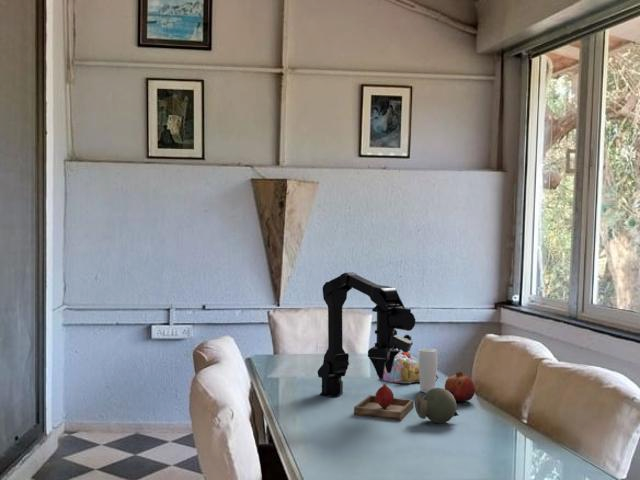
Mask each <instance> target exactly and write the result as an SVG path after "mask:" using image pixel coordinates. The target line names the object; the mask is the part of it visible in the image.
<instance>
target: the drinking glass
mask: <svg viewBox="0 0 640 480" xmlns="http://www.w3.org/2000/svg"><path fill="white" fill-rule="evenodd" d="M417 357H418V361H417V363H419V377H420V382H419V390H420V392H422V393H425V394H426V393H427V392H428V391H429V390H431V389H434V388H436V375H437V370H438V349H436V348H427V347H426V348H424V347H423V348H419V349H418V356H417Z"/></svg>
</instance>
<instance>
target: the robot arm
mask: <svg viewBox="0 0 640 480" xmlns="http://www.w3.org/2000/svg"><path fill="white" fill-rule="evenodd" d="M352 289H354V290H356V291H358V292H360V293H362V294H364V295H366V296H368V297H369V298H370V301H371V302H372V303H374V304H375V306H374V307H373V308H372V309H371V310H372V312H373V313H376V329H375V330H374V334H376V342H375V343H374V346H372V347H371V348H369V349H368V350H367V357H368V359H369V360H370V361H371V363H372V366H373V368H374V370H375V372H376V374H377V377H378V379H379V380H382V379H383V375H384V369H385V367H386V370H387V373H391V370H392V366H393V362H394V359H395V356H397V355H399V354H400V353H401V351H402V352H406V353H407V352H410V351H411V347H412V345H413V342H414V341H413V340H412V335H410V334H408V333H406V334H405V335H404V336H403V335H399V334H398V330H402V331H406V332H409V331H412V330H413V329H414V327H415V325H416V318H415V317H416V316H414V314H413V312H411V308H409V307H408V308H407V307H405V305H404V303H403V301H402V299H401V298H400V295H399V293H398V290H397V289H396V288H395V287H393V286H388V285H381V284H377V283H375V282H372V281H371V280H368V279H366V278H364V277H362V276H360V275H358V274H357V273H356V272H343V273H342V274H340V275H339V276H337V277H335V278H333V279H331V280H329V281H326V282H325V283H324V284H323V285H322V297H323V301H324V302H325V304H326V305H327V331H328V332H327V333H328V334H327V337H328V338H327V339H328V340H327V344H328V345H327V346H328V347H327V349H326V351H325V353H324V356H323V363H322V365H321V366H320V367H319V369H318V370H317V372H316V373H317V375H318V378H321V392H320V393H319V395H320V396H327V397H334V398H335V397H336V398H337V397H339V396H341V395H343V394H344V391H343V390H344V388H343V385H344V381H343V380H342V377H345V376H346V373H347V370H348V368H349V366H350V362H349V356H350V355H349V353H346V351H345V350H344V348H343V345H344V344H343V343H344V342H343V306H344V304H345V302H346V301H347V299H348V298H347V296H348V293H349V292H350V291H351V290H352Z"/></svg>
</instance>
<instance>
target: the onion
mask: <svg viewBox="0 0 640 480" xmlns="http://www.w3.org/2000/svg"><path fill="white" fill-rule="evenodd" d="M374 396H375V398H376V401H377V403H378V404H379V405H380V406H381V407H382V408H383V409H386V408H387V407H388V406H390V405H391V404H392V402H393V399H394V398H395V397H394V392H393V391H392V389H391V388H390V387H389V386H387V383H383V384H382V386H380V387H379V388H378V389H377V391H376V392H375V395H374Z"/></svg>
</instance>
